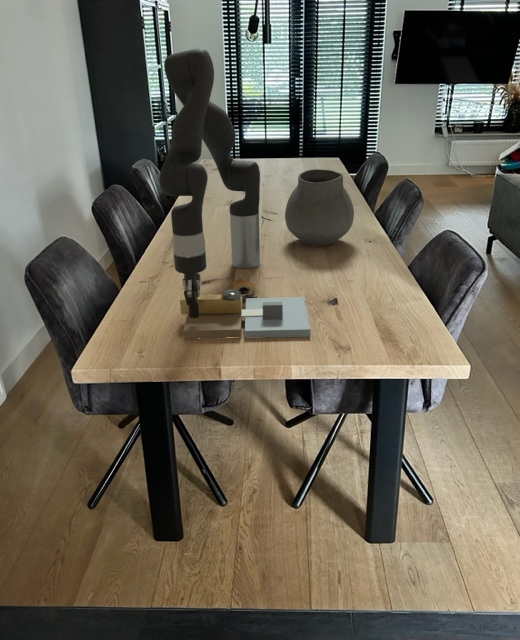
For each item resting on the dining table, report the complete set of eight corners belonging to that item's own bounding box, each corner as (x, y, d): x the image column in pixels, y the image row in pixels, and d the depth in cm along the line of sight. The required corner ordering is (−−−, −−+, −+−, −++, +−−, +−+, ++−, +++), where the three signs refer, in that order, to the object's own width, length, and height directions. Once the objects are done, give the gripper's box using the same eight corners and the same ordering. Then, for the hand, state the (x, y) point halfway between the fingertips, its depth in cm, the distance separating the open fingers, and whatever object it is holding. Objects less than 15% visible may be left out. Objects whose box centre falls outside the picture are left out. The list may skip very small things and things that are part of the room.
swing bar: (241, 306, 150) (241, 289, 148) (241, 314, 146) (240, 296, 143) (182, 307, 150) (181, 290, 148) (180, 316, 146) (179, 298, 143)
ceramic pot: (273, 248, 202) (272, 177, 192) (301, 229, 222) (301, 164, 211) (338, 257, 192) (341, 182, 181) (361, 237, 211) (365, 169, 200)
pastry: (230, 286, 171) (229, 274, 170) (252, 284, 172) (252, 273, 171) (232, 298, 163) (232, 286, 161) (256, 297, 164) (255, 284, 162)
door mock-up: (192, 306, 158) (190, 286, 155) (303, 303, 158) (304, 283, 155) (184, 339, 140) (182, 317, 137) (310, 336, 140) (310, 314, 137)
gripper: (176, 242, 140) (182, 306, 147) (169, 260, 128) (176, 329, 135) (207, 241, 140) (211, 305, 147) (203, 259, 128) (207, 328, 135)
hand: (194, 316), depth 141 cm, fingers closed
